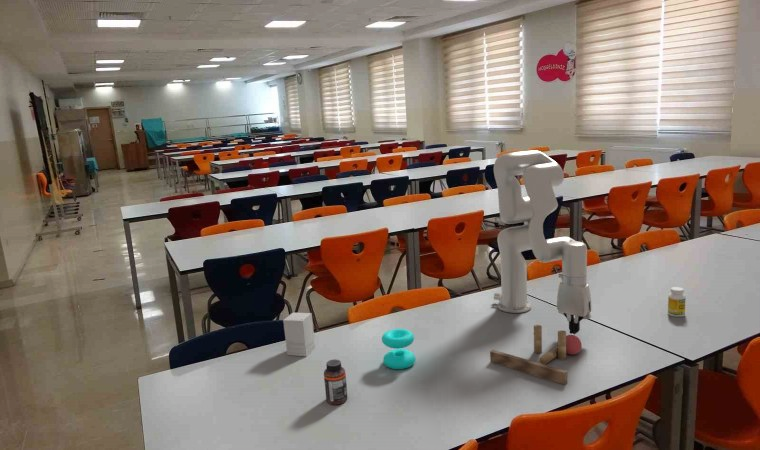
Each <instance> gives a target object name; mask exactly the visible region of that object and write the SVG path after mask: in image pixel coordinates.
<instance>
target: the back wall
mask: <svg viewBox="0 0 760 450" xmlns="http://www.w3.org/2000/svg"><path fill="white" fill-rule="evenodd" d="M489 355H490V356H489V359H490V361H489V362H490V363H492V364H496V365H499V366H502V367H505V368H509V369H512V370H515V371H519V372H521V373H526V374H528V375H532V376H534V377H537V378H541V379H545V380H547V381H551V382H554V383H558V384H561V385H566V384H567V383H568V370H565V369H561V368H557V367H554V366H552V365H548V364H545V365H544V364H541V363H540V362H536V361H533V360H530V359H527V358H523V357H520V356H515V355H513V354H511V353H510V354H509V353H506V352H502V351H499V350H496V349H491V350H490V352H489Z"/></svg>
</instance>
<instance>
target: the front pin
mask: <svg viewBox="0 0 760 450" xmlns="http://www.w3.org/2000/svg"><path fill="white" fill-rule="evenodd" d="M556 357H557V358H558V346H557V347H553V348H552V349H551V350H549V351H548V352H546V353H544V354H543V355H541V356H540V357H539V359H538V360H539V363H541V364H544V365H547V364H548V363H549V362H550V361H552V360H554V359H556Z"/></svg>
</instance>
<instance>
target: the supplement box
mask: <svg viewBox="0 0 760 450" xmlns="http://www.w3.org/2000/svg"><path fill="white" fill-rule="evenodd" d="M312 314H313V313H312V312H291V313H290V314H289V315H288V316H287V317H286V318H284V319H282V323H283V330H284V336H285V337H284V338H285V348H286V353H287V354H286V355H287V356H295V357H296V356H297V357H308V356H309V354H311V353H312V352H313V351H314V350H315V348H316V344H315V343H316V342H315V334H314V332H315V331H314V323H313V315H312Z"/></svg>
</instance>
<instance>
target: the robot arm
mask: <svg viewBox="0 0 760 450" xmlns="http://www.w3.org/2000/svg"><path fill="white" fill-rule="evenodd" d="M493 174H494V179H495V182H496V186H497V196H498V209H499V210H498V211H499V217H500V220H501V222H502V223H504V224H508V225H510V224H511V225H512V224H519V223H523V225H515V226H510V227H507V228H504V229H502V230H500V231H499V233H498V234H497V246H498V250H499V257H500V259H499V260H500V275H501V277H500V278H501V280H500V282H501V293H498V292H494V294H493V300H497V301H498V303H497V309H498V310H500V311H502V312H504V313H510V314H511V313H512V314H521V313H526V312H529V311H530V310H531V309H532V304H531V302H530V301H528V278H527V277H528V276H527V275H528V273H527V272H528V271H527V261H526V259H525V257H524V256H523V254H522V252H525V251H530V250H532V254H533V255H534V257H535V258H536V260H537V261H539V262H541V263H551V262H555V261H561V263H562V264H561V267H562V268H561V273H559V274H558V278H560V279H561V281H560V282H559V284H558V289H557V296H556V299H557V300H556V309H557V312H558V313H559V314H561V315H563V316H564V317H565V318H566V321H567V322H568V330H569V334H570V335H577V333H579V332H580V328H581V327H580V326H581V325H580V322H581V321H582V320H590V319H591V318H592V314H591V312H592V297H591V296H592V295H591V288H590V285H589V284H588V283H587V281H588V280H587V279H588V247H587V244H586V243H585V242H583V241H577V240H575V239H573V238H572V237H569V236H559V237H552V238H547V239H546V238H545V235H544V222H545V219H546V218H547V216H549V215H550V214H551V213H553V212H555V211H556V210H557V208H558V207H559V203H558V200H557V196H556V195H555V191H554V187H558V186H561V184H563V181H564V179H565V174H564V170H563V169H562V167H561V165H560V164H559V163H558V162H556V161H555V160H554V159H552V158H551V157H549V156H548V155H547V154H545V153H543V152H542V151H539V150H536V149H534V150H532V149H531V150H523V151H514V152H507V153H503V154H501V155H499V156H498V157H497V158H495V161H494V164H493ZM516 176H522V181H523V185H524V187H525V190H526V193H527V195H526V196H523V194H522V185H521V183H520V182H519V180H518V178H516Z"/></svg>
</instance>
